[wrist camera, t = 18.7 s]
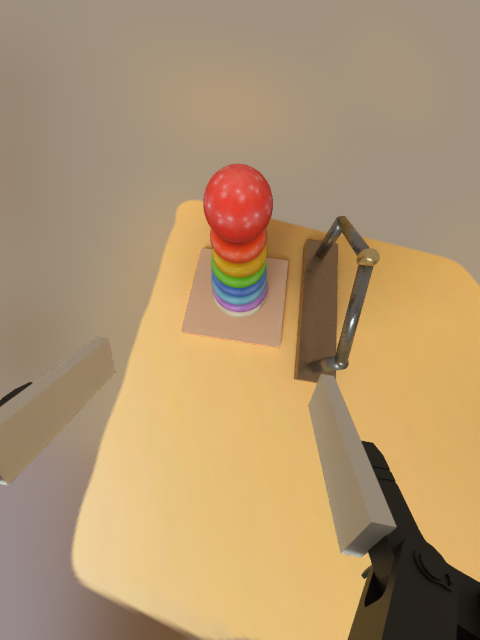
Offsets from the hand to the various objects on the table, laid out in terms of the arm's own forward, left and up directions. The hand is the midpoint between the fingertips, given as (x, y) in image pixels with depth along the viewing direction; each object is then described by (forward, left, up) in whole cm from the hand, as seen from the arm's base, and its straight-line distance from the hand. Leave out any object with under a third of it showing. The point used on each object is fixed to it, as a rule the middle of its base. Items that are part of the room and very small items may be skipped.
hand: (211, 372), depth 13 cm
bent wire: (-5, -17, -16) cm, 24 cm away
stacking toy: (+6, -11, -15) cm, 20 cm away
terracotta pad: (+6, -11, -16) cm, 20 cm away
